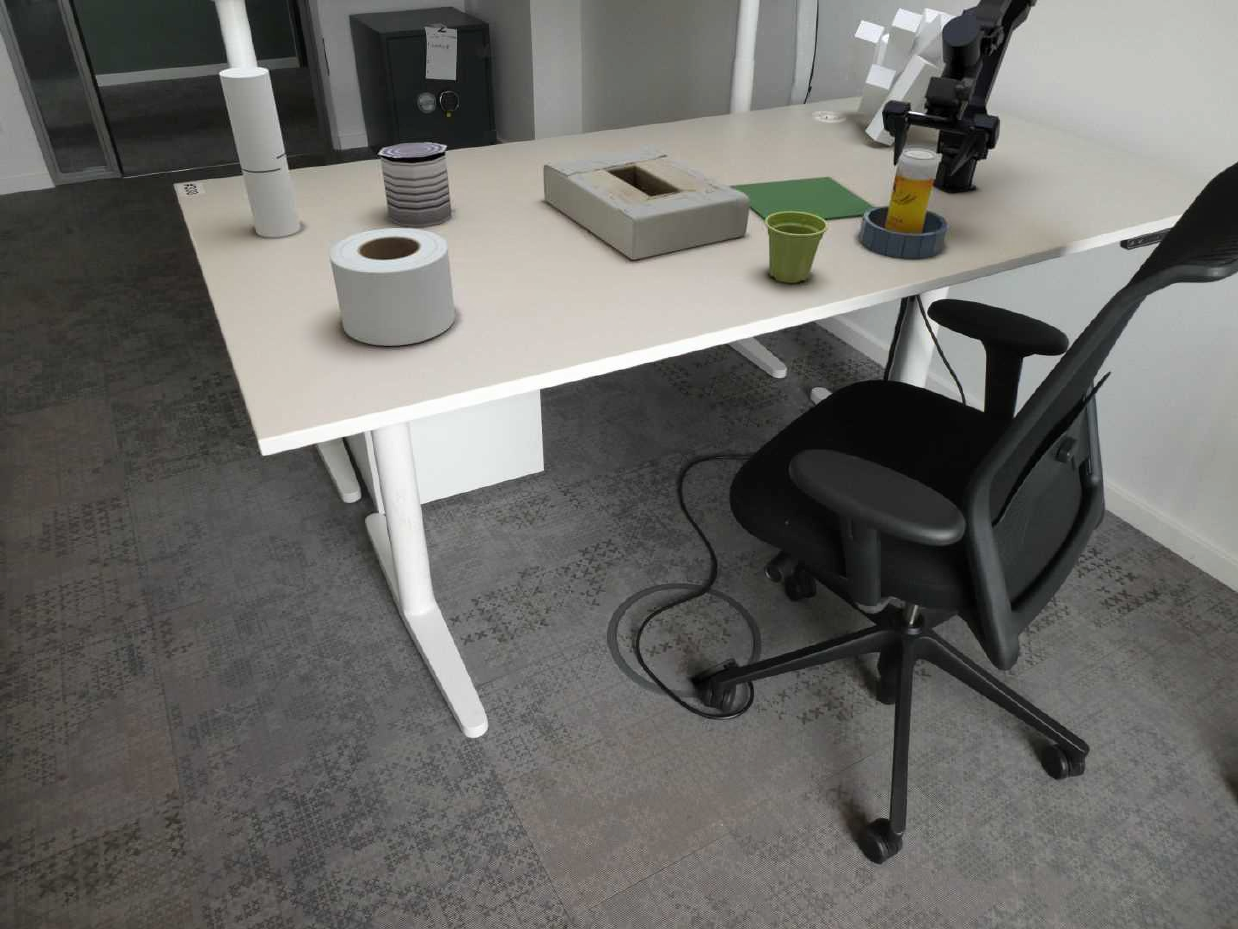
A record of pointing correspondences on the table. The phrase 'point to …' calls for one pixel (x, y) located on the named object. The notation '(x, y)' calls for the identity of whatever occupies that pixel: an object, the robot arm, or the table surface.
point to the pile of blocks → (896, 64)
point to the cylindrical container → (260, 150)
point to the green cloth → (804, 198)
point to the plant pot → (793, 244)
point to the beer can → (911, 191)
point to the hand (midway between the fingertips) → (921, 169)
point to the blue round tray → (902, 235)
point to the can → (416, 184)
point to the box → (645, 201)
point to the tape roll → (393, 285)
